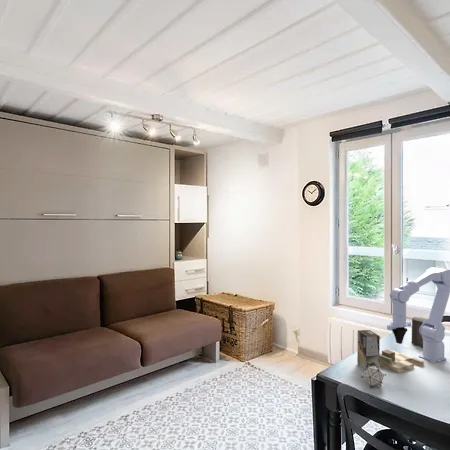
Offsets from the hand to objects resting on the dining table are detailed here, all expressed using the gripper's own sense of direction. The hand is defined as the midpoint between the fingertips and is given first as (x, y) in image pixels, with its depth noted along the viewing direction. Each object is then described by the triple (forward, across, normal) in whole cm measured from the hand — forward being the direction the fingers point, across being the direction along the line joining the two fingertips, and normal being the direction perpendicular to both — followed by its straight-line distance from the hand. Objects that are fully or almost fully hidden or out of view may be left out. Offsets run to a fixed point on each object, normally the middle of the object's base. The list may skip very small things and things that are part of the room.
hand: (399, 343), depth 165 cm
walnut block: (+7, +8, 0) cm, 10 cm away
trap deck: (+9, +3, 0) cm, 9 cm away
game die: (+9, +32, +12) cm, 35 cm away
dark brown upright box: (+9, -33, -11) cm, 36 cm away
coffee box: (+9, +20, -1) cm, 22 cm away
